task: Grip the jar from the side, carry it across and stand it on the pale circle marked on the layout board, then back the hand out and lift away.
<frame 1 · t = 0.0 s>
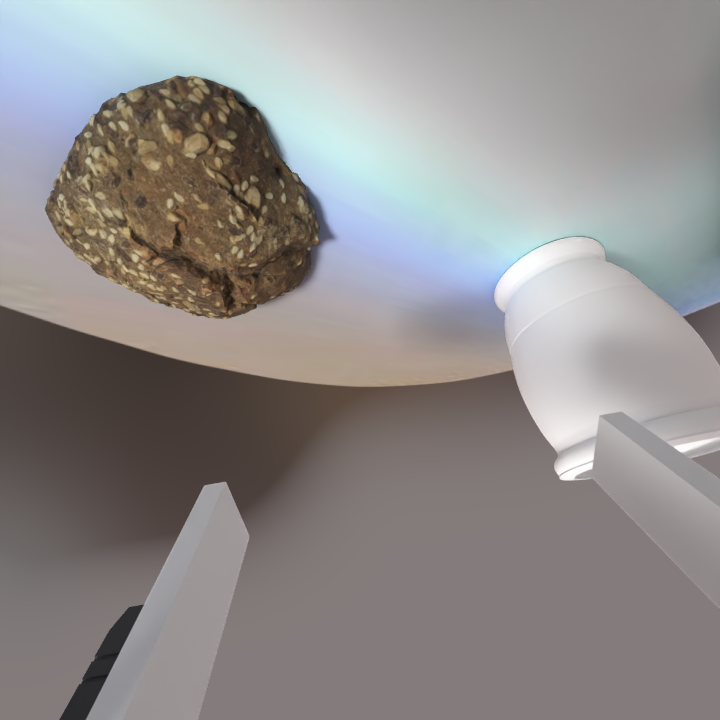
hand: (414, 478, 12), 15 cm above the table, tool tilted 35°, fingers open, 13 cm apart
bread roll: (210, 219, 19), on the table
jar: (543, 275, 27), on the table
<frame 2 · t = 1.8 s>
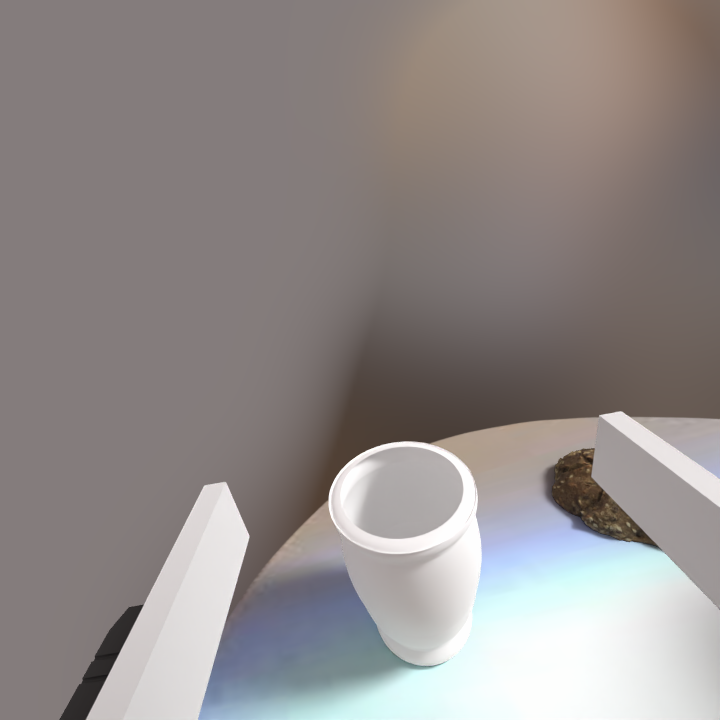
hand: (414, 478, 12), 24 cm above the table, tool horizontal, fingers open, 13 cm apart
bread roll: (616, 498, 37), on the table
jar: (422, 612, 30), on the table
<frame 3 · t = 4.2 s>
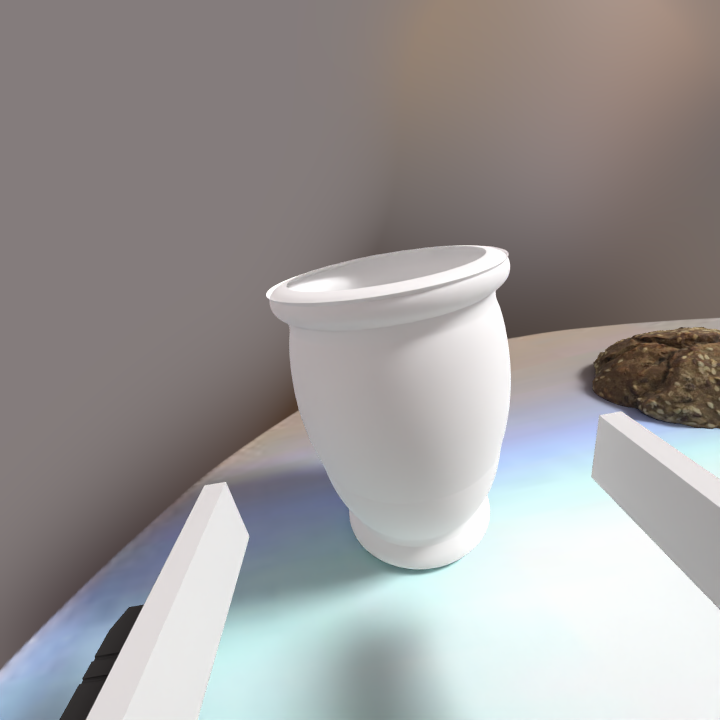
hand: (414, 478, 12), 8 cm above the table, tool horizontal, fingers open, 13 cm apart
bread roll: (681, 391, 28), on the table
jar: (417, 510, 21), on the table
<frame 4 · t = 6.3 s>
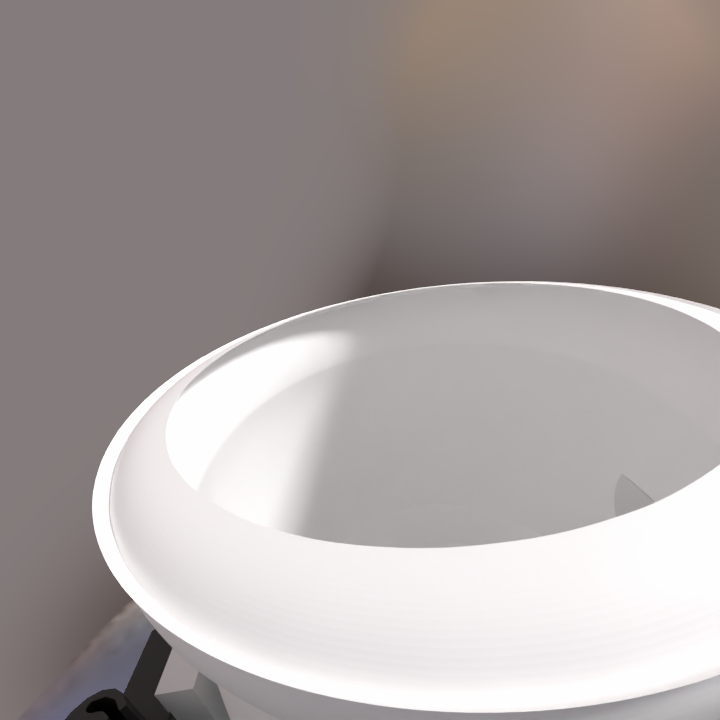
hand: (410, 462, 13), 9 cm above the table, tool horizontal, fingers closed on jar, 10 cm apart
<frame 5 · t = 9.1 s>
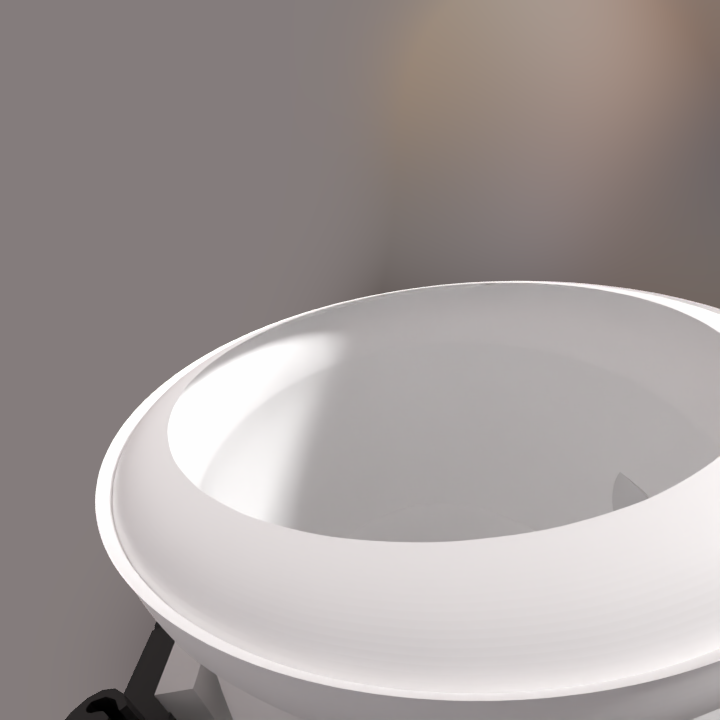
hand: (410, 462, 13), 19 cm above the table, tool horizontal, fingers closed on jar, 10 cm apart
when the fingers open (12 cm above the table, at t = 11.8 s): jar drops 1 cm, resting on layout board.
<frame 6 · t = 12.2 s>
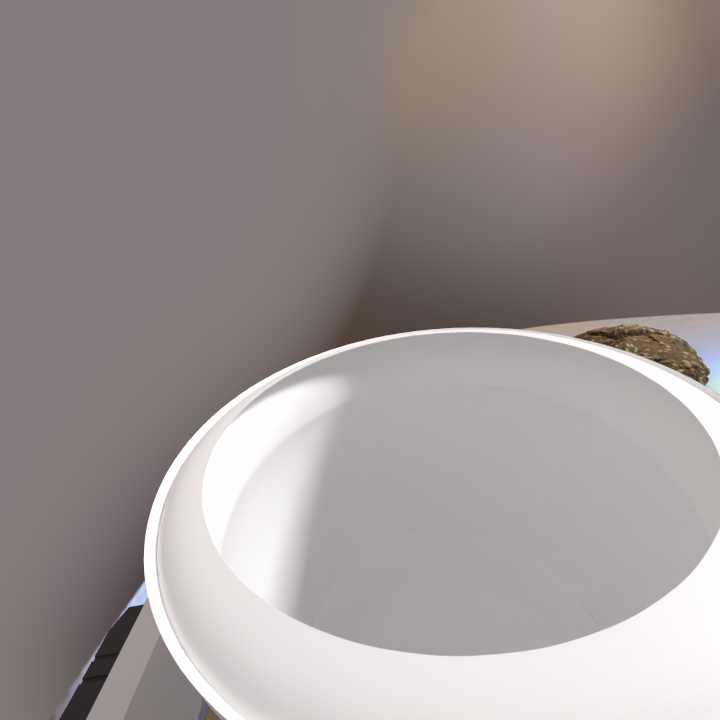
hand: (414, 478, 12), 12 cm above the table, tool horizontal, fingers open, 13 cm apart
bread roll: (620, 371, 38), on the table
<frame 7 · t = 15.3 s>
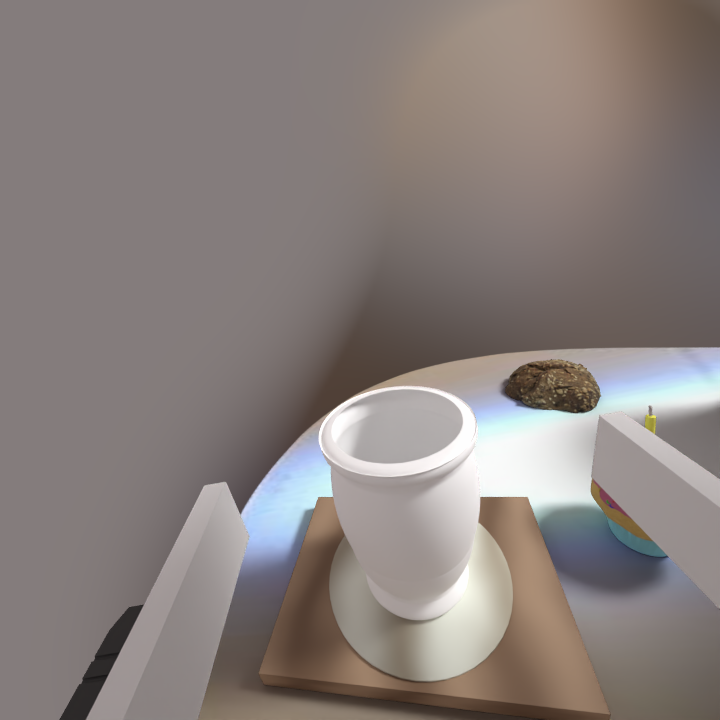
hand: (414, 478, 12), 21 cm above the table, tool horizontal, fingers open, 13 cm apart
bread roll: (549, 393, 53), on the table
layout board: (417, 581, 29), on the table
jar: (416, 570, 29), point 2 cm above the table, touching layout board
cupcake: (643, 534, 30), on the table
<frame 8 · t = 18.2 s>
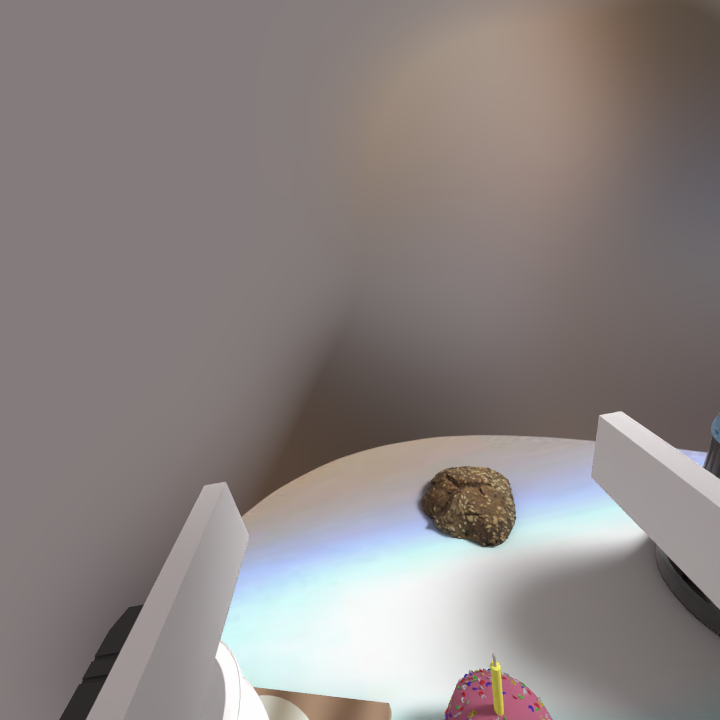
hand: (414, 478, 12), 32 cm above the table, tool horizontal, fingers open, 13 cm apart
bread roll: (467, 506, 49), on the table
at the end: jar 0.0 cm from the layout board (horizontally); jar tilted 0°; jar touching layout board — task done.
